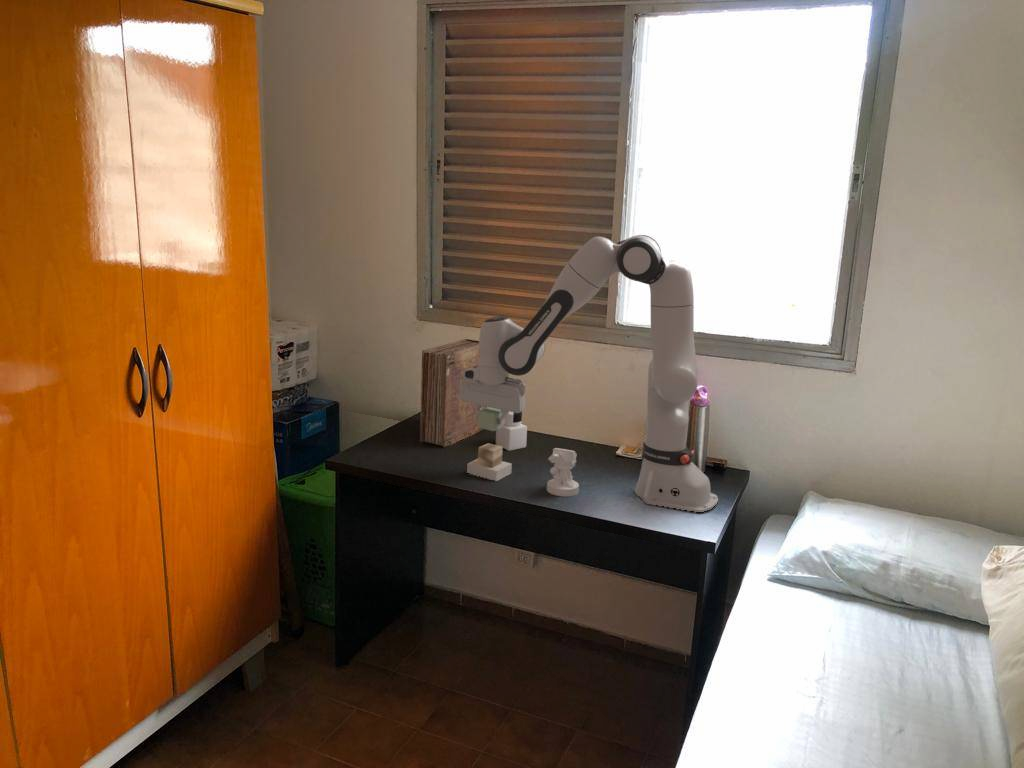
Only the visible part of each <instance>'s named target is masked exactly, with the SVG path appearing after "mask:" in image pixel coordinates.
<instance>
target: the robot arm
mask: <svg viewBox="0 0 1024 768" xmlns="http://www.w3.org/2000/svg"><path fill="white" fill-rule="evenodd" d="M566 263H567V264H566V265H565V266H564V267H563V269H562V270H561V272H560V274H558V276H557V278H556V280H555V282H554V283H553V285H552V287H551V290H550V292H549V294H548V296H547V297H546V298H545V299H546V300H545V301H544V303H543V304H542V306H541V307H540V308H539V309H538V311H537V312H536V314H535V315H534V316H533V317H532V318H531V320H530V321H529V322H528V324H527V325H526V326H525V327H521V326H520V325H518V324H517V323H515V322H514V321H512V319H511V318H509V317H508V316H494V317H490V318H487V319H486V320H484V321H483V322H482V323H481V326H480V332H479V337H478V341H479V352H480V358H479V361H478V366H476V367H472V368H469V369H466V370H463V371H462V377H464V378H463V379H462V380H461V383H460V393H459V396H460V399H461V400H462V401H464V402H468V403H473V404H475V409H476V411H477V413H478V420H479V411H480V410H482V408H481V407H483V406H487V408H488V407H491V408H496V409H500V410H501V413H502V415H501V417H499V418H497V424H500V425H503V424H504V423H505V417H506V416H507V414H508V413H509V412H514V413H520V412H522V413H523V412H524V411H525V409H526V384H525V383H524V382H523V381H522V380H521V379H519V378H512V377H510V375H512V376H516V377H517V376H524V375H526V374H528V373H529V372H530V371H531V370H532V369H533V368H534V367H535V365H536V364H537V363H538V362H539V361H540V360H541V359H542V357H543V356H544V355H545V350H546V345H545V342H546V340H547V339H548V338H549V337H550V336H551V334H552V333H554V331H555V329H557V327H558V326H559V325H560V324H561V323H562V322H563V321H564V320H565V319H567V317H568V316H571V315H572V314H573V313H575V312H576V311H578V310H579V309H581V308H582V307H584V306H585V305H586V304H587V303H589V301H590V300H591V299H593V298H594V296H596V295H597V294H598V292H600V290H601V289H602V287H604V285H605V283H606V282H607V281H608V280H609V279H610V278H611V277H612V276H613V275H615V274H617V273H621V274H622V275H623V276H624V277H625V278H627V279H629V280H631V281H634V282H638V283H639V282H640V283H642V284H646V285H648V286H649V291H650V338H651V339H650V340H651V348H652V358H651V361H650V362H649V365H648V372H647V401H646V402H647V405H646V406H647V411H646V412H647V415H646V427H645V439H644V441H643V445H642V449H641V467H640V468H641V469H640V472H639V477H638V480H637V483H636V485H635V488H634V493H635V495H637V496H638V497H639V498H641V499H642V500H643V502H644V503H645V504H646V505H650V504H651V505H652V506H656V505H658V506H657V507H662V506H664V507H663V508H667V507H669V508H668V509H673V508H676V509H675V510H679V509H681V510H680V511H684V510H687V511H686V512H690V511H694V512H693V513H696V512H703V511H707V510H709V509H711V508H713V507H714V506H715V505H716V504H717V502H718V503H719V497H718V496H717V495H716V494H715V493H713V492H711V491H712V490H711V482H710V479H709V477H708V476H707V475H706V474H705V473H704V472H703V471H702V470H701V469H700V468H698V466H697V465H696V464H695V463H694V462H693V461H692V459H693V456H694V455H695V454H694V453H695V450H694V449H693V450H690V449H689V448H688V446H687V441H688V440H687V439H688V431H689V429H688V428H689V421H690V417H689V401H690V400H691V399H692V398H693V397H694V395H695V394H696V392H697V388H698V375H697V374H698V373H697V372H698V371H697V356H696V354H697V353H696V345H695V335H694V333H695V331H694V316H695V315H694V314H695V313H694V311H695V310H694V309H695V308H694V303H695V302H694V299H695V298H694V288H693V287H694V286H693V281H692V275H691V270H690V268H689V266H688V265H686V264H685V263H683V262H681V261H678V260H668V259H665V257H663V255H662V251H661V247H660V245H659V243H658V242H657V241H656V240H655V239H654V238H652V236H650V235H646V234H645V235H644V234H638V235H633V236H630V237H628V238H626V239H623V240H621V241H618V242H617V243H616V242H613V241H612V240H610V239H609V238H606V237H604V236H593V237H592V238H590V239H589V240H588V241H587V242H586V243H585V244H584V245H582V246H581V247H580V248H579V249H578V250H577V251H576V252H575V253H574V254H573V256H572V257H571V258H570V260H569V261H568V262H566ZM717 505H718V504H717ZM717 505H716V506H717ZM716 506H715V507H716ZM715 507H714V508H715ZM714 508H713V509H714Z"/></svg>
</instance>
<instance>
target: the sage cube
mask: <svg viewBox="0 0 1024 768" xmlns="http://www.w3.org/2000/svg"><path fill="white" fill-rule="evenodd" d="M501 415H502V413H501V410H500V409H496V408H491V407H487V408H485V409H482V410H480V411H479V428H482V429H485V430H487V431H491V432H496V430H497V429H500V428H502V427H503V425H500V424H497V418H499V417H501Z"/></svg>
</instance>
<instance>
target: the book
mask: <svg viewBox="0 0 1024 768" xmlns="http://www.w3.org/2000/svg"><path fill="white" fill-rule="evenodd" d="M479 358H480V352H479V340H473V339H467V338H463V339H461V340H460V339H459V340H456V341H452V342H450V343H445V344H441V345H437V346H433V347H430V348H425V349H422V351H421V383H420V384H421V385H420V386H421V387H420V421H419V422H420V424H419V425H420V426H419V427H420V428H419V429H420V430H419V443H420V442H423V441H424V442H423V443H429V444H433V445H436V446H441V447H442V448H443V447H444V448H443V449H446V448H445V447H447V446H449V445H451V446H452V444H453V445H455V444H457V443H459V442H458V441H460V440H462V439H464V440H466V439H468V438H470V437H472V435H473V436H475V435H477V434H479V433H481V432H483V431H485V430H484V429H482V428H479V420H478V413H477V411H476V409H475V404H473V403H468V402H464V401H462V400H461V399H460V396H459V393H460V383H461V380H462V379H463V378H464V377H462V371H463V370H466V369H469V368H472V367H476V366H478V361H479ZM481 408H482V409H485V408H488V407H487V406H483V407H481ZM482 430H483V431H482ZM480 431H481V432H480ZM478 432H479V433H478ZM476 433H477V434H476ZM474 434H475V435H474ZM469 436H470V437H469ZM467 437H468V438H467ZM465 438H466V439H465ZM462 441H463V440H462ZM456 442H457V443H456ZM460 442H461V441H460ZM454 443H455V444H454ZM449 447H450V446H449ZM447 448H448V447H447Z"/></svg>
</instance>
